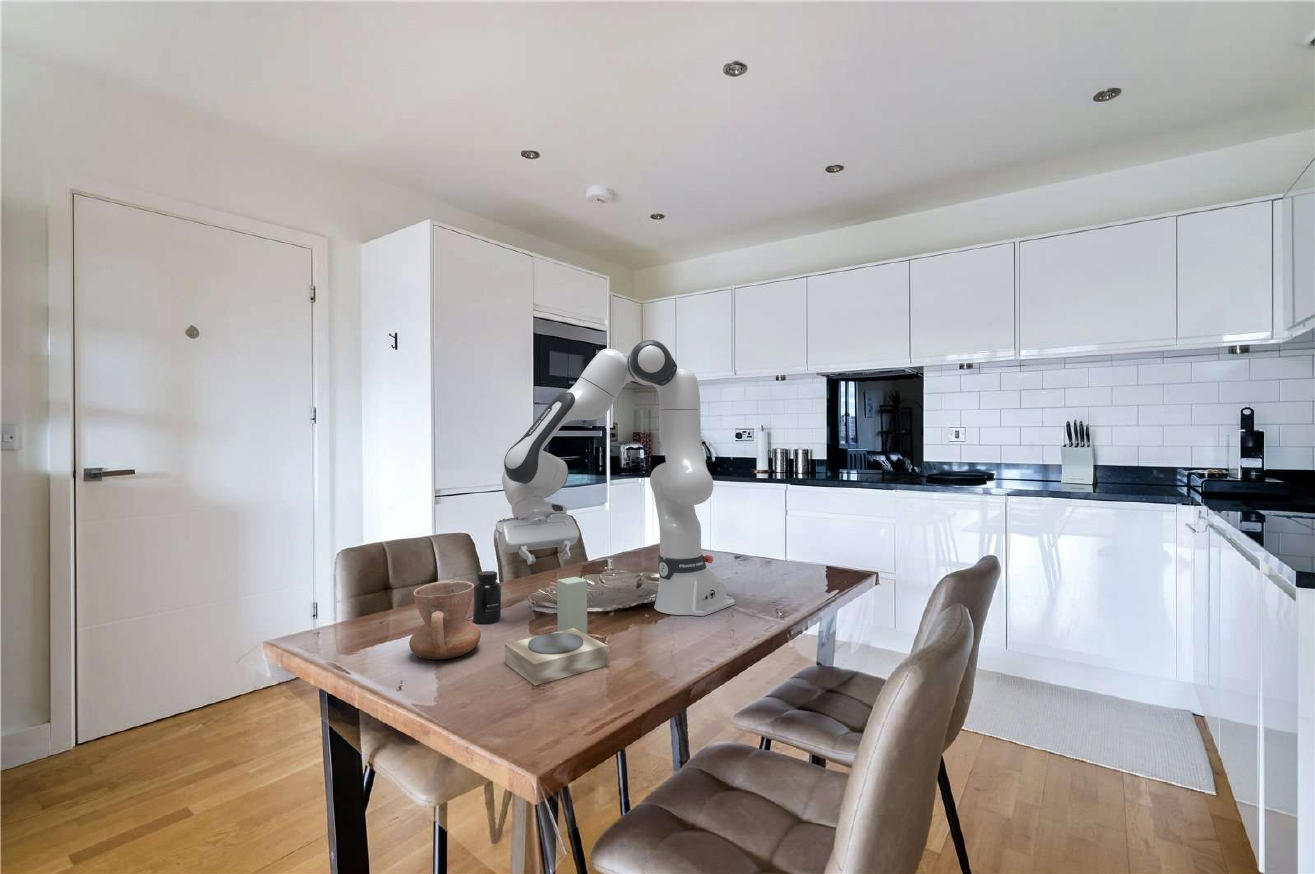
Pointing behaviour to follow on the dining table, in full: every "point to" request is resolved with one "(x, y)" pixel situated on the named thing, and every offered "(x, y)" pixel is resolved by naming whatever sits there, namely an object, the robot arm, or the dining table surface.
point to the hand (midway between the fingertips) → (550, 560)
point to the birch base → (555, 655)
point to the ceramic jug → (444, 621)
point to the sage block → (572, 604)
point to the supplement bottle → (487, 598)
